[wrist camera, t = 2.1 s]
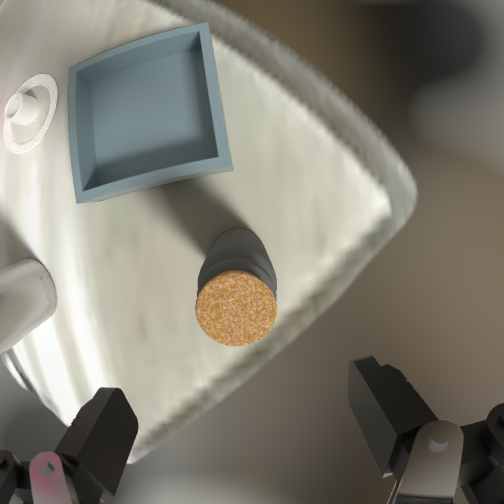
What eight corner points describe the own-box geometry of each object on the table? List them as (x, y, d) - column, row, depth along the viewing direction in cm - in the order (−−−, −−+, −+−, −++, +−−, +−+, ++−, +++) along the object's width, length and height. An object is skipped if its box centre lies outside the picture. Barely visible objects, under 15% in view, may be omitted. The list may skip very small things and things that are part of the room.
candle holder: (44, 158, 27) (24, 156, 23) (-2, 150, 26) (-20, 148, 22) (72, 74, 25) (56, 63, 21) (21, 77, 24) (5, 70, 19)
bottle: (219, 285, 31) (202, 362, 16) (205, 235, 30) (172, 275, 15) (270, 273, 31) (295, 342, 16) (258, 222, 30) (276, 251, 15)
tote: (98, 201, 28) (76, 203, 23) (88, 81, 25) (69, 68, 20) (233, 170, 28) (231, 165, 24) (212, 44, 25) (208, 22, 20)
